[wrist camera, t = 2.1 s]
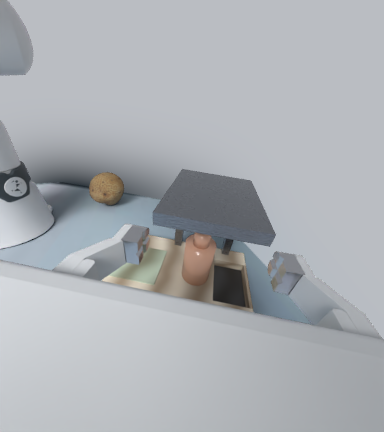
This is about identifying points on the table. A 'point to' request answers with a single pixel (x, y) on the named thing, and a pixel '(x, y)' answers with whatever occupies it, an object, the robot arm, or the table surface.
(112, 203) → the natural sponge
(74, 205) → the table surface
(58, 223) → the table surface
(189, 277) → the terracotta bottle
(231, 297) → the birch board
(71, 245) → the table surface
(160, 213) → the tunnel roof
